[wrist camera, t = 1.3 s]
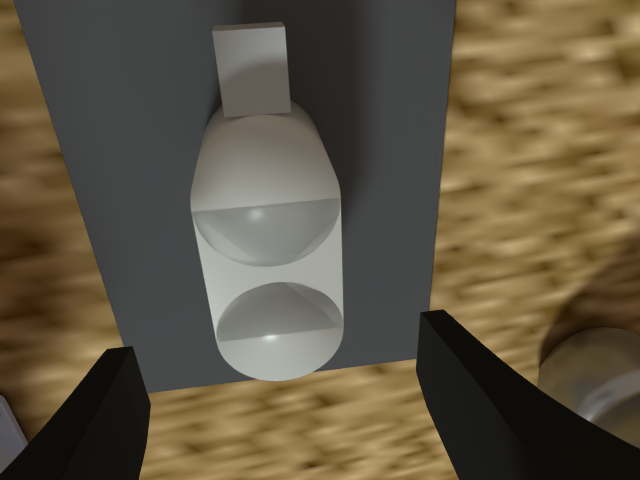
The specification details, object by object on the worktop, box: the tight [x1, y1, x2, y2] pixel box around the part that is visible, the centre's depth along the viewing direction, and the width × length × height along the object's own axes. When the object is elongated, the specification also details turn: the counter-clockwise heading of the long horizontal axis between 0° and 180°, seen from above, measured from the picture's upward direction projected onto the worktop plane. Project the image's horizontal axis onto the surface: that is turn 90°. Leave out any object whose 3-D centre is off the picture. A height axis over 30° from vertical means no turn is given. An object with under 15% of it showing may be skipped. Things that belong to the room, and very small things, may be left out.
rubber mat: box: [13, 0, 456, 393], centre depth 20 cm, size 18×14×1 cm
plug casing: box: [190, 22, 344, 381], centre depth 17 cm, size 12×4×4 cm, turn 2°
